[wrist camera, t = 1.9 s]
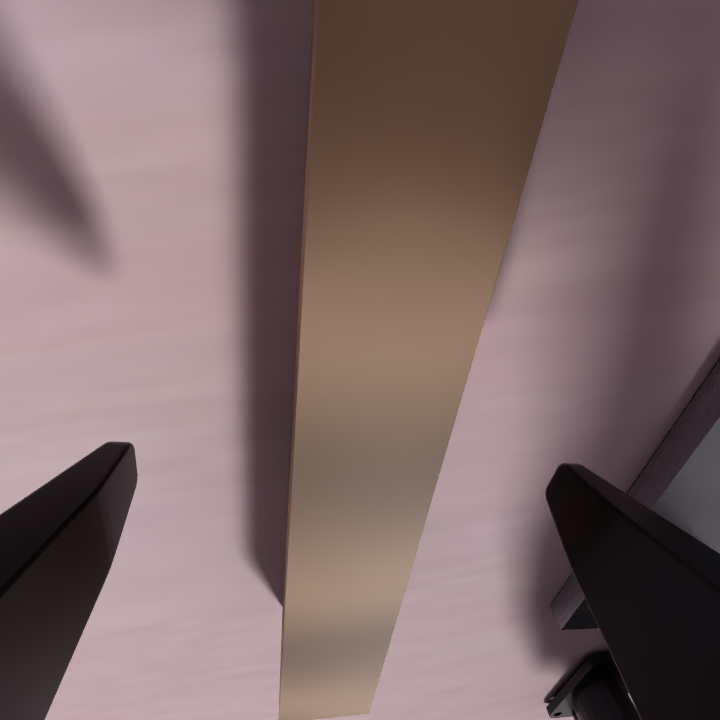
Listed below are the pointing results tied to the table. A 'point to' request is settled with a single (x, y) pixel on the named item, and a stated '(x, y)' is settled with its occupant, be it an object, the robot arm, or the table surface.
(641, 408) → the table surface
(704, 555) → the robot arm
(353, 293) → the rail
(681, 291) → the table surface
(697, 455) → the bracket stand
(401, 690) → the table surface
